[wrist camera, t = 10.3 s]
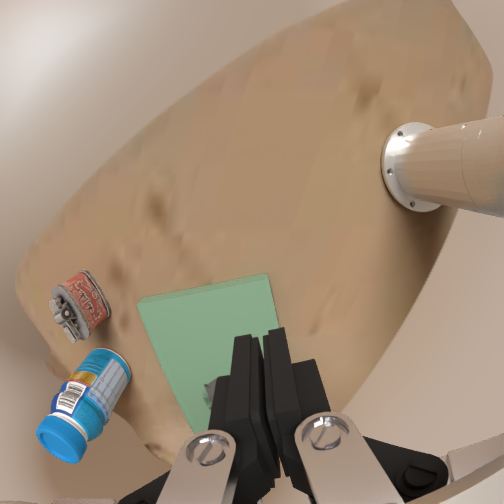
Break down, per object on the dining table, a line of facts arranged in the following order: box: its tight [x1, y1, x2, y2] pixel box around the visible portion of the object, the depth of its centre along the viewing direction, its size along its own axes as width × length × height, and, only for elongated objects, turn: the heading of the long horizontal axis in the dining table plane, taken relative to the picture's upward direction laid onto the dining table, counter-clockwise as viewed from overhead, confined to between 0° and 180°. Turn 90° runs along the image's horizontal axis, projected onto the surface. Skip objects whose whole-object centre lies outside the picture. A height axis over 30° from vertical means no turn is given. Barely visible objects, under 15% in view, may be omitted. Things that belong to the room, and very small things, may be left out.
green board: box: [137, 273, 279, 434], centre depth 42 cm, size 26×18×2 cm
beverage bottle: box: [36, 348, 131, 464], centre depth 34 cm, size 8×8×20 cm
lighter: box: [49, 270, 111, 343], centre depth 35 cm, size 8×3×10 cm, turn 26°
